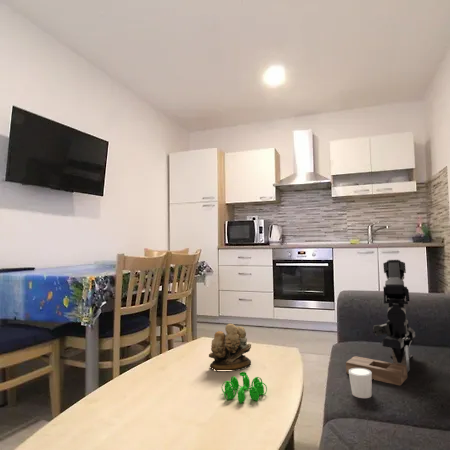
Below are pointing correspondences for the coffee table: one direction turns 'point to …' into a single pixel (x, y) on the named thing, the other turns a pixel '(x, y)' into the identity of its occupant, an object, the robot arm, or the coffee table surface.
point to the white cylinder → (361, 382)
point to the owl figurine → (230, 349)
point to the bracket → (405, 358)
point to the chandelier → (244, 388)
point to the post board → (380, 369)
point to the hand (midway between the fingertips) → (400, 361)
